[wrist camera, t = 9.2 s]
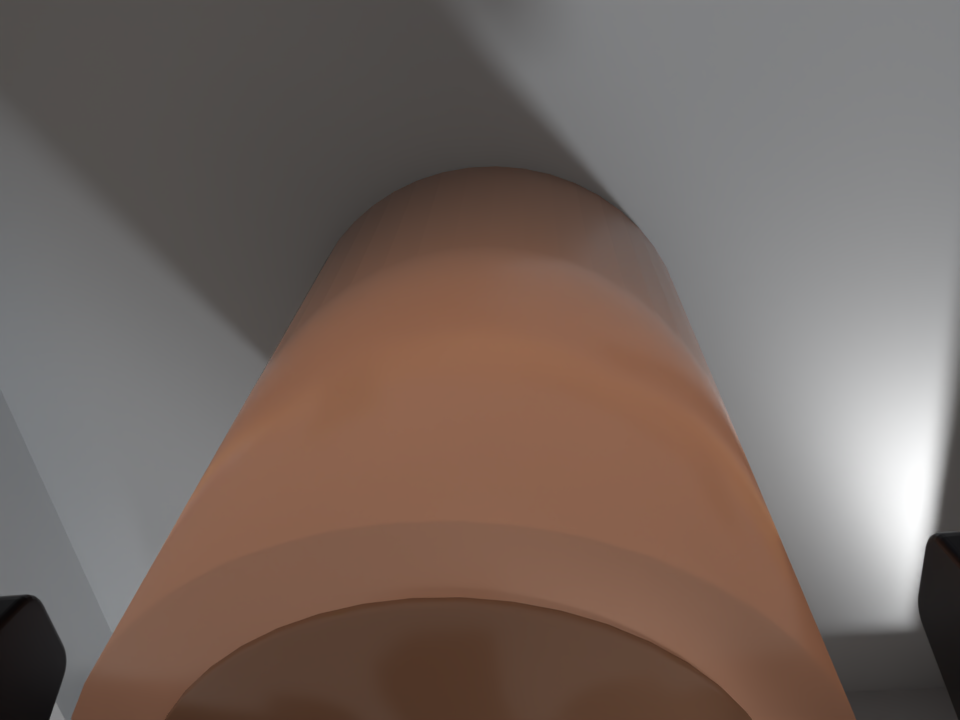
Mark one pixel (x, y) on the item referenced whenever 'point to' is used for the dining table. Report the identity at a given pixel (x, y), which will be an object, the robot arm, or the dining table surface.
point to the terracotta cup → (476, 497)
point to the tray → (465, 144)
